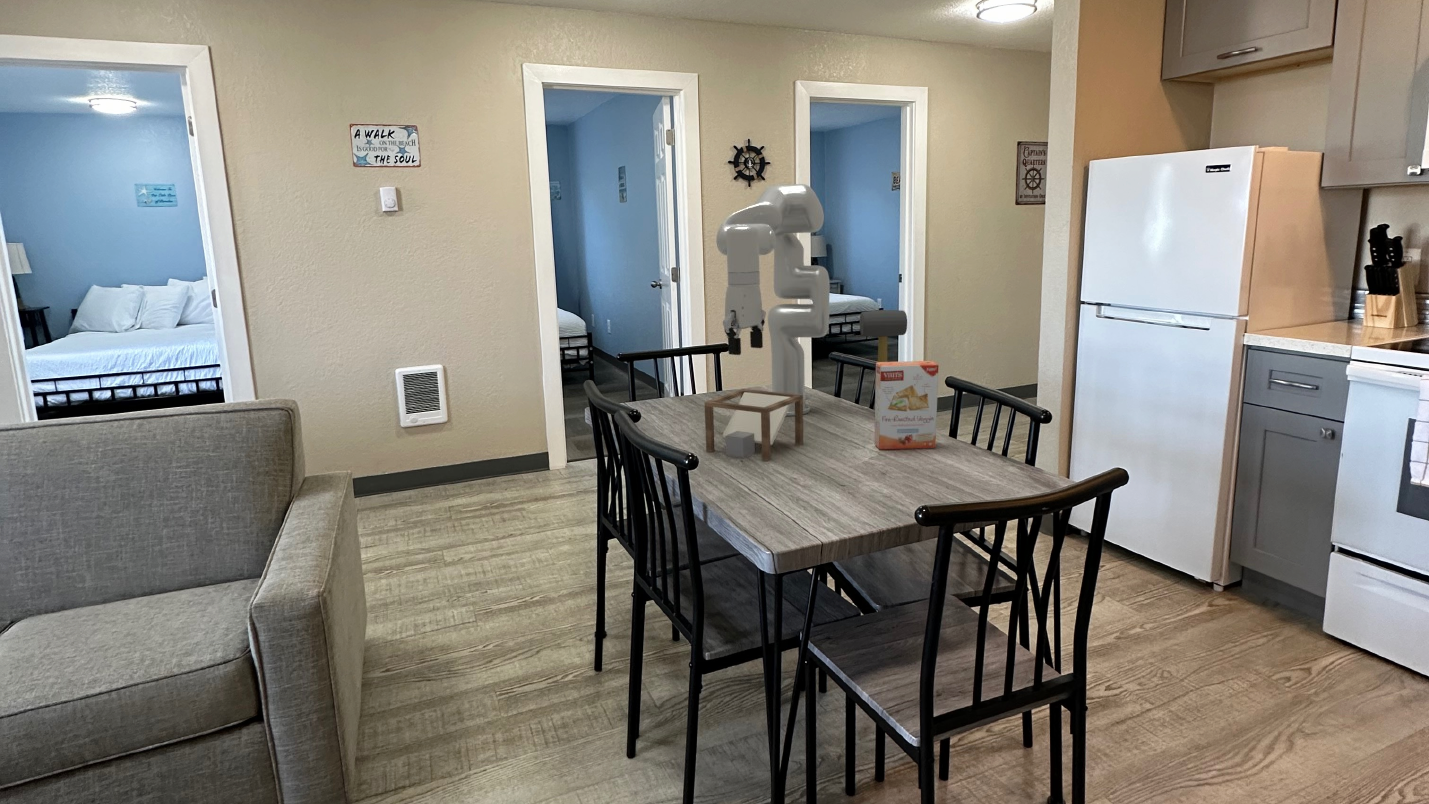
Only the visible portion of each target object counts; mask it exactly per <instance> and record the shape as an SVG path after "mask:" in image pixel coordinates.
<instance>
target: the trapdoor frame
mask: <svg viewBox="0 0 1429 804" xmlns="http://www.w3.org/2000/svg"><path fill="white" fill-rule="evenodd" d="M744 392H747V393H757V394H766V395H776V396H785V397H790V398H787V399H785V400H782V401H779V402H777V403H774V404H772V405H769V406H766V407H757V406H748V405H740V404H738V403H729V402H727V401H730V400H733V399H736V398H738V397H739V398H740V399H741V398H742V396H743V394H744ZM794 402H795V415H794V436H795V437H794V438H795V439H794V441H795V442H794V444H795V445H798V446H801V445H803V444H804V414H803V395H798V394H788V393H778V392H772V391H767V390H757V389H748V388H746V389H745V388H743V389H739V390H736V391H734V392H730V393H726V394H724V395H722V396H719V397H716V398H713V399H710V400H707V401H704V423H705V425H704V426H705V449H706V450H705V451H706V452H707V453H713V452H715V451H716V448H715V446H716V445H715V424H714V423H715V421H714V417H715V416H714V408H717V409H718V408H719V409H726V410H734V411H735V410H742V411H750V412H758V413H761V438H762V444H761V461H765V462H768V461H771V460H772V459H771V457H772V456H771V455H772V453H771V445H770V412H772V411H774V410H777V409H779V408H782V407H784V406H787V405H789V404H792V403H794Z"/></svg>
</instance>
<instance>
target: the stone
mask: <svg viewBox="0 0 1429 804" xmlns="http://www.w3.org/2000/svg"><path fill="white" fill-rule="evenodd" d="M755 453H756V451H755V443H754V433H749V432H741V431H735V432H733V433H731V434H728V435H726V438H725V455H726V456H728V457H734V458H739V459H740V458H741V459H745V458H747V457H750V456H751V455H754V454H755Z"/></svg>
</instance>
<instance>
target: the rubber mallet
mask: <svg viewBox="0 0 1429 804" xmlns="http://www.w3.org/2000/svg"><path fill="white" fill-rule="evenodd" d="M859 330H860V331H859V332H860V335H861V336H862V337H869V338H871V337H872V338H873V337H874V338H875V337H878V339H877V340H878V344H877V347H878V348H877V349H878V350H877V362H888V337H895V336H904V335H906V333H907V330H908V316H907V313H906V311H905V310H904V309H903V310H901V309H900V310H898V309H897V310H896V309H880V310H878V309H877V310H867V311H862V312H861V313H860V316H859Z"/></svg>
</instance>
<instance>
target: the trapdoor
mask: <svg viewBox="0 0 1429 804" xmlns="http://www.w3.org/2000/svg"><path fill="white" fill-rule="evenodd" d="M787 398H790V397H785V396H776V395H766V394H757V393H747V392H744V394H743V396H742V398H741V397H740V400H739V402H738V403H737V404H740V405H748V406H757V407H766V406H769V405H772V404H774V403H777V402H779V401H782V400H785V399H787ZM790 405H791V404H789V405H787V406H784V407H782V408H779V409H777V410H774V411H772V412H770V446H773V443H774V441H775V440H776V437H777V435H778V433H779V431H780V428H782V427H781V426H782V425H783V423H784V420H785V419H786V417H787V416H786V414H787V412H788V410H789V407H790ZM735 431H741V432H749V433H754V444H761V445H762V438H761V413H758V412H750V411H742V410H734V411H733V414H732V415H731V417H730V420H729V422H728V424H727V426H726V427H725V429H724V431H723V433H722V435H721V437H722V438H723V439H726V435H728V434H731V433H733V432H735Z"/></svg>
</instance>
